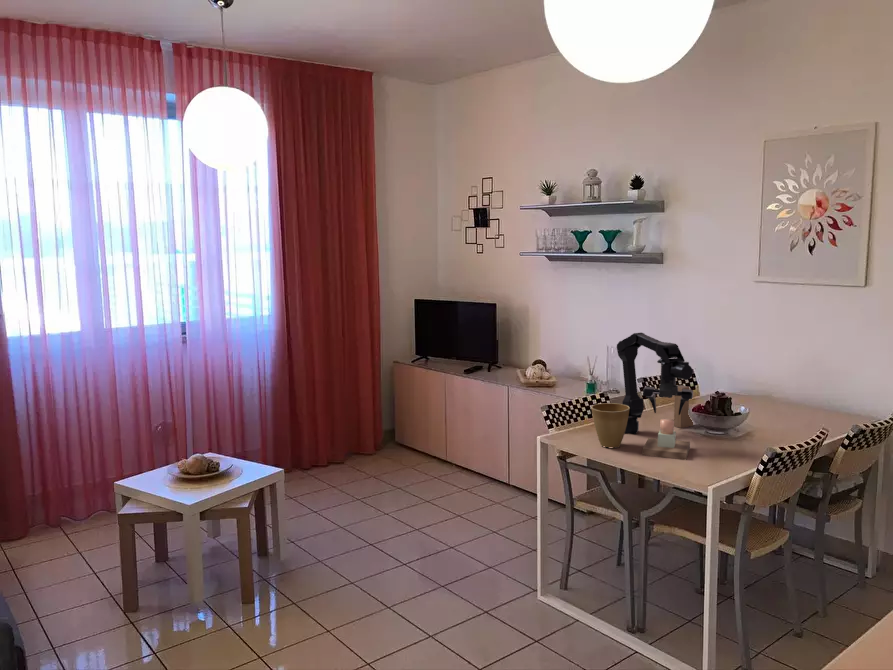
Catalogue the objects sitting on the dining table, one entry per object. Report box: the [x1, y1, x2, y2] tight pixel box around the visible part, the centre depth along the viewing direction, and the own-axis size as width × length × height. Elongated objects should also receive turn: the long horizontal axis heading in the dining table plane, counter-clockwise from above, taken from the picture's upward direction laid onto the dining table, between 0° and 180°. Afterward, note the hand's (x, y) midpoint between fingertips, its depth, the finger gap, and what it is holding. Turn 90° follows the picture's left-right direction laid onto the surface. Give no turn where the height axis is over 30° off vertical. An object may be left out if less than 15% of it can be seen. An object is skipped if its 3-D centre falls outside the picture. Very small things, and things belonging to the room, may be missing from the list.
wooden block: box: [673, 384, 694, 429], centre depth 318 cm, size 9×4×18 cm, turn 119°
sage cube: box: [657, 430, 677, 448], centre depth 282 cm, size 6×6×5 cm
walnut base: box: [642, 437, 691, 460], centre depth 283 cm, size 16×16×2 cm
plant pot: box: [590, 402, 630, 449], centre depth 291 cm, size 15×15×16 cm
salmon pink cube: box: [659, 418, 675, 435], centre depth 282 cm, size 5×5×5 cm
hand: (667, 413), depth 289 cm, fingers open, 9 cm apart
